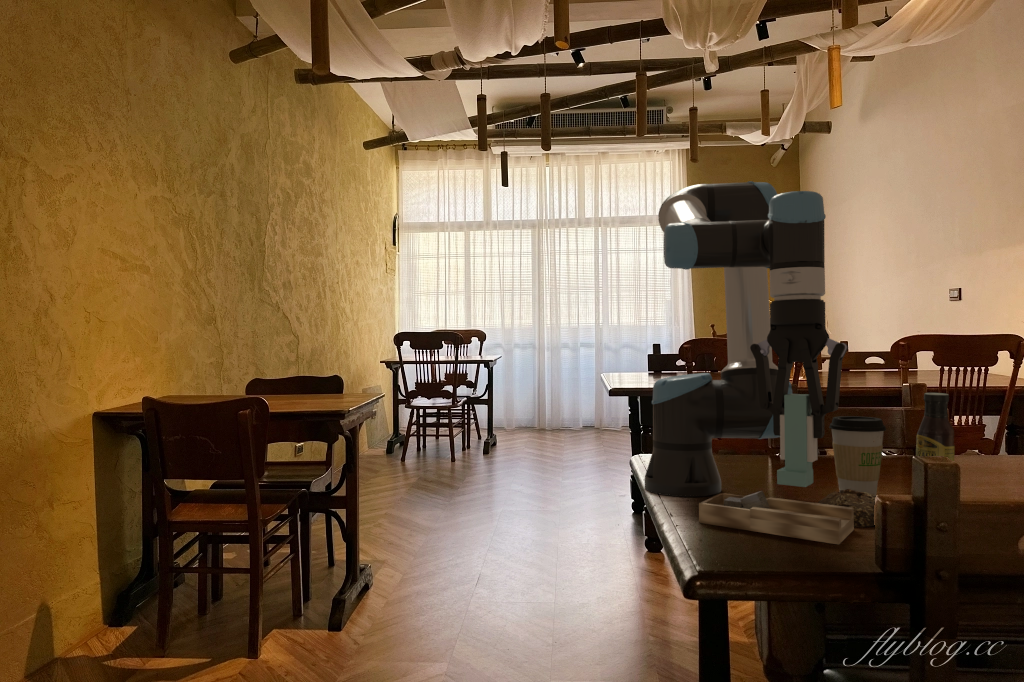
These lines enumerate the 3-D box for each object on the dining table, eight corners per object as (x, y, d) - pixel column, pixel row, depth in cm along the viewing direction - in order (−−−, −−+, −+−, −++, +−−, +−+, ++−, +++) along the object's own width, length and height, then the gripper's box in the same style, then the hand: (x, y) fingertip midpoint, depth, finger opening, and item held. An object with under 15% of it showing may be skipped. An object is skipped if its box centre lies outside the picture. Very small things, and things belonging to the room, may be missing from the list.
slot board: (853, 529, 111) (853, 507, 111) (838, 544, 103) (838, 520, 103) (721, 510, 124) (721, 491, 124) (699, 522, 116) (698, 501, 116)
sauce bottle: (908, 494, 136) (907, 392, 136) (938, 493, 136) (937, 391, 136) (931, 502, 129) (930, 394, 129) (963, 501, 130) (962, 394, 130)
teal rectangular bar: (813, 482, 103) (812, 394, 103) (805, 487, 100) (804, 395, 100) (785, 479, 105) (784, 393, 106) (777, 484, 102) (776, 394, 102)
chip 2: (747, 516, 115) (740, 498, 115) (753, 513, 117) (746, 495, 118) (764, 511, 113) (756, 493, 114) (770, 508, 115) (762, 490, 116)
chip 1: (741, 520, 115) (723, 517, 117) (747, 516, 118) (730, 514, 120) (741, 502, 115) (723, 499, 117) (747, 499, 118) (730, 496, 120)
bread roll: (909, 521, 117) (908, 491, 117) (866, 532, 111) (865, 501, 111) (838, 506, 128) (838, 479, 128) (795, 515, 122) (795, 487, 122)
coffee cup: (894, 503, 129) (893, 421, 129) (836, 501, 131) (836, 421, 131) (877, 492, 138) (877, 416, 138) (824, 490, 140) (823, 415, 140)
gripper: (733, 300, 105) (735, 457, 104) (851, 294, 95) (853, 468, 95) (750, 302, 111) (752, 451, 110) (862, 297, 101) (864, 461, 101)
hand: (798, 459), depth 102 cm, fingers closed on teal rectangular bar, 3 cm apart
